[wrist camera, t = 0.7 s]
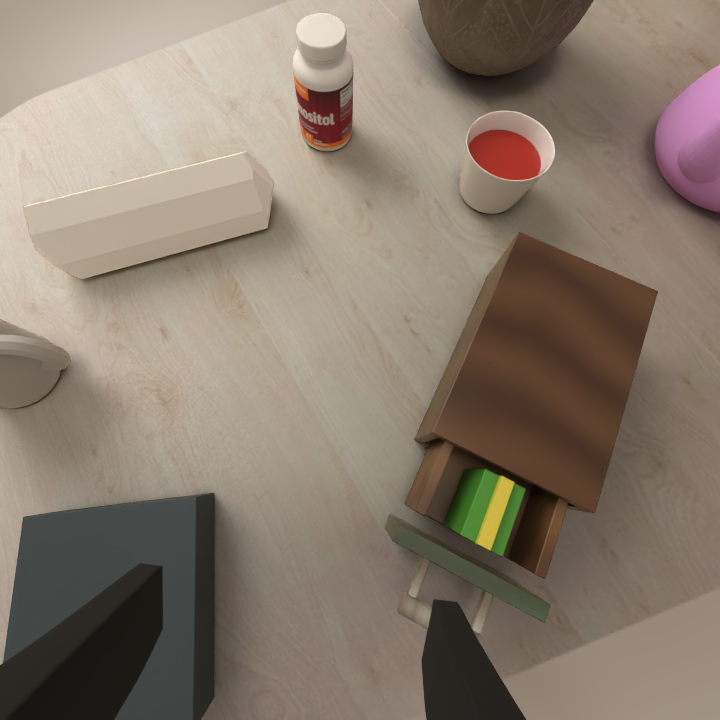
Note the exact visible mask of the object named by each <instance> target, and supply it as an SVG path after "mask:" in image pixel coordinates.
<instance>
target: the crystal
mask: <svg viewBox="0 0 720 720" xmlns="http://www.w3.org/2000/svg"><path fill="white" fill-rule="evenodd" d="M273 188H274V181H273V179H272V177H271V176H270V174H269V172H268V171H267V169H266V168H264V167H263V166H262V165H261V164H260V163H259V162H258V161H257V160H256V159H255V158H254V157H252V156H251V155H250V154H249V153H248V152H242V153H238V154H234V155H230V156H226V157H221V158H217V159H213V160H209V161H205V162H201V163H197V164H193V165H189V166H185V167H181V168H177V169H173V170H169V171H165V172H160V173H156V174H152V175H148V176H144V177H140V178H136V179H132V180H128V181H124V182H120V183H116V184H112V185H108V186H104V187H100V188H95V189H91V190H87V191H83V192H79V193H75V194H71V195H67V196H63V197H59V198H55V199H51V200H47V201H43V202H39V203H35V204H30V205H26V206H24V207H23V209H24V213H25V217H26V221H27V225H28V229H29V233H30V237H31V239H32V242H33V244H34V247H35V249H36V251H37V252H39V253H40V254H41V255H42V256H44V257H45V258H46V259H47V260H48V261H50V262H51V263H52V264H53V265H55V266H56V267H58V268H60V269H62V270H64V271H66V272H67V273H69V274H71V275H73V276H75V277H77V278H79V279H84V278H88V277H92V276H95V275H99V274H102V273H106V272H110V271H113V270H117V269H121V268H124V267H128V266H132V265H135V264H139V263H143V262H146V261H150V260H153V259H157V258H161V257H164V256H168V255H172V254H175V253H179V252H183V251H186V250H190V249H194V248H197V247H201V246H204V245H208V244H212V243H215V242H219V241H223V240H226V239H230V238H234V237H237V236H241V235H245V234H248V233H252V232H255V231H259V230H263V229H266V228H267V227H268V223H269V218H270V211H271V204H272V197H273Z"/></svg>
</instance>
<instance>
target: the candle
mask: <svg viewBox="0 0 720 720" xmlns="http://www.w3.org/2000/svg"><path fill="white" fill-rule="evenodd" d="M554 157H555V145H554V142H553V139H552V137H551V135H550V134H549V132H548V131H547V130H546V128H545V127H544V126H543V125H542V124H540V123H539V122H538V121H536V120H535V119H533V118H531V117H529V116H527V115H525V114H522V113H519V112H514V111H494V112H490V113H487V114H485V115H483V116H481V117H479V118H478V119H477V120H475V121H474V122H473V123H472V125H471V126H470V128H469V130H468V132H467V136H466V142H465V148H464V155H463V161H462V168H461V174H460V182H459V189H460V193H461V196H462V198H463V199H464V201H465V202H466V203H467V204H468V205H469V206H470V207H472V208H473V209H475V210H477V211H479V212H482V213H487V214H496V213H501V212H504V211H506V210H508V209H509V208H511V207H512V206H513V205H514V204H515V203H516V202H517V201H518V200H519V199H520V198H521V197H522V196H523V195H524V194H525V193H526V192H527V191H528V190H529V189H530V188H531V187H532V186H533V185H534V184H535V183H536V182H537V180H538V179H539V178H540V177H541V176H542V175H543V174H544V173H545V172H546V171H547V170H548V169H549V168H550V166H551V165H552V163H553V160H554Z"/></svg>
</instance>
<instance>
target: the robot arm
mask: <svg viewBox="0 0 720 720" xmlns="http://www.w3.org/2000/svg"><path fill="white" fill-rule="evenodd" d="M162 630H163V566H160V565H152V564H144V563H139V564H138V565H137V566H135V567H134V568H132V569H131V570H130V571H128V572H127V573H126V574H124V575H123V576H122V577H120V578H119V579H118V580H116V581H115V582H114V583H112V584H111V585H110V586H108V587H107V588H106V589H104V590H103V591H102V592H101V593H99V594H98V595H97V596H95V597H94V598H93V599H91V600H90V601H89V602H87V603H86V604H85V605H83V606H82V607H81V608H79V609H78V610H77V611H75V612H74V613H73V614H71V615H70V616H69V617H67V618H66V619H64V620H63V621H62V622H60V623H59V624H58V625H56V626H55V627H54V628H52V629H51V630H50V631H48V632H47V633H45V634H44V635H43V636H41V637H40V638H39V639H37V640H36V641H34V642H33V643H32V644H30V645H29V646H27V647H26V648H24V649H23V650H21V651H20V652H19V653H17V654H16V655H14V656H13V657H11V658H10V659H9V660H7V661H6V662H4V663H3V664H1V665H0V720H114V719H115V718H116V716H117V714H118V712H119V711H120V709H121V707H122V706H123V704H124V702H125V701H126V699H127V697H128V696H129V694H130V692H131V691H132V689H133V687H134V686H135V684H136V682H137V680H138V679H139V677H140V675H141V673H142V671H143V669H144V667H145V665H146V663H147V661H148V659H149V657H150V655H151V653H152V651H153V649H154V647H155V644H156V642H157V640H158V638H159V636H160V634H161V632H162ZM422 672H423V687H424V699H425V711H426V718H427V720H526V719H525V717H524V716H523V714H522V712H521V711H520V709H519V708H518V706H517V704H516V703H515V701H514V699H513V698H512V696H511V695H510V693H509V691H508V690H507V688H506V686H505V685H504V683H503V681H502V680H501V678H500V677H499V675H498V673H497V672H496V670H495V668H494V666H493V665H492V663H491V661H490V660H489V658H488V656H487V654H486V653H485V651H484V649H483V647H482V646H481V644H480V642H479V640H478V639H477V637H476V635H475V633H474V631H473V629H472V628H471V626H470V624H469V622H468V620H467V618H466V617H465V615H464V613H463V611H462V609H461V607H460V606H459V604H458V603H457V602H452V601H443V600H435V599H434V600H433V605H432V611H431V616H430V621H429V626H428V631H427V636H426V641H425V646H424V651H423V656H422Z"/></svg>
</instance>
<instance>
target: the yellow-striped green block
mask: <svg viewBox="0 0 720 720" xmlns="http://www.w3.org/2000/svg"><path fill="white" fill-rule="evenodd" d="M524 493H525V488H523V487H521V486H519V485H517V484H515V482H513V481H511V480H509V479H507V478H505V477H503V476H499V475H497V474H495V473H493V472H491V471H489V470H487V469H465V470H464V472H463V475H462V478H461V480H460V483H459V485H458V488H457V490H456V493H455V495H454V498H453V500H452V503H451V505H450V508H449V510H448V513H447V515H446V518H445V520H444V523H443V525H445V526H446V527H448V528H450V529H451V530H453V531H455V532H456V533H458V534H460V535H461V536H463V537H465V538H467V539H469V540H471V541H473V542H475V543H476V544H478V545H480V546H482V547H484V548H486V549H487V550H489V551H492V552H494V553H495V554H497V555H499V556H501V557H502V556H503V554H504V551H505V548H506V545H507V542H508V539H509V536H510V534H511V531H512V528H513V525H514V522H515V519H516V516H517V513H518V510H519V507H520V504H521V501H522V499H523V496H524Z"/></svg>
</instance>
